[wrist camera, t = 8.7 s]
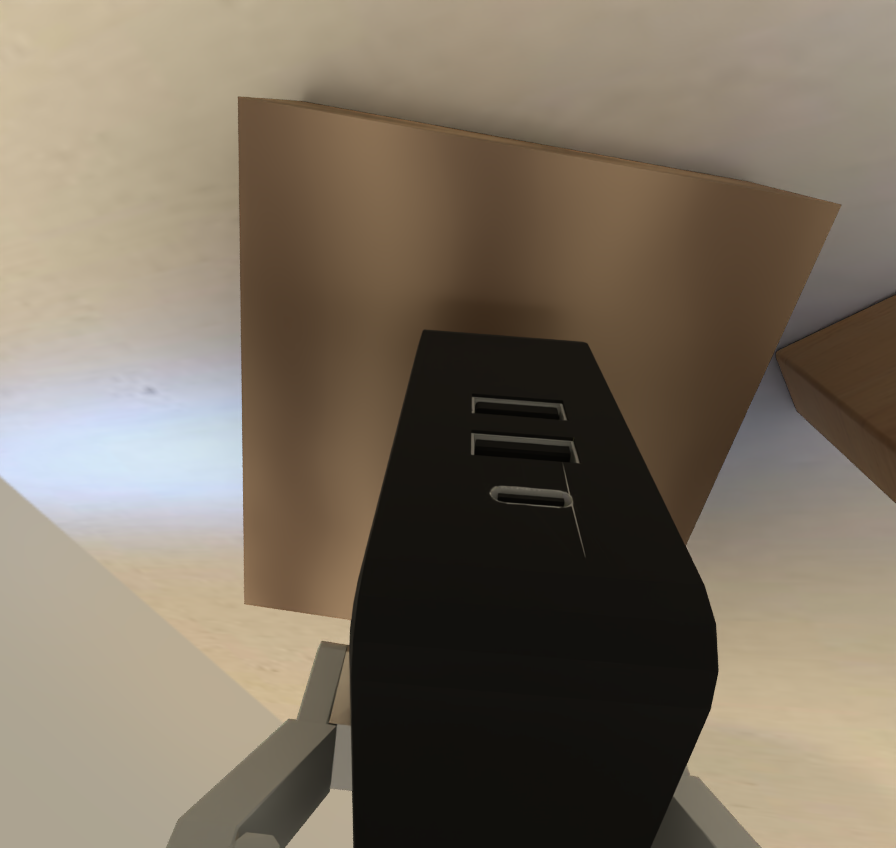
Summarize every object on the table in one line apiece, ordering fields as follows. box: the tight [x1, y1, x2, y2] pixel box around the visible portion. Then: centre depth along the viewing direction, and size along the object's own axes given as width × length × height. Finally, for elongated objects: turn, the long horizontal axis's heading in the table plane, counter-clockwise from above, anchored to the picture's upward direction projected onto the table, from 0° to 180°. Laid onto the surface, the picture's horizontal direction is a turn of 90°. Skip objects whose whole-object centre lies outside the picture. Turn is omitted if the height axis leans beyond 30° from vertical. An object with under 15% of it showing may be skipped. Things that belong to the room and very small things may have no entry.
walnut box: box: [238, 97, 841, 620], centre depth 22 cm, size 16×18×6 cm
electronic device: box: [349, 329, 718, 848], centre depth 13 cm, size 4×10×10 cm, turn 176°
